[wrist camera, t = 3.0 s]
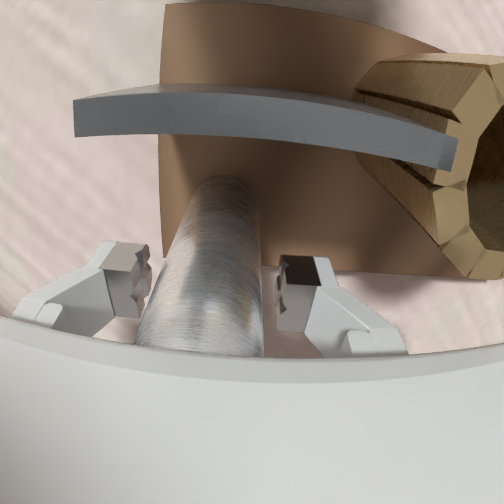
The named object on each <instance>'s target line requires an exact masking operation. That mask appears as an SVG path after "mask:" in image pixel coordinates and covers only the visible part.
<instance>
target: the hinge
mask: <svg viewBox="0 0 504 504" xmlns="http://www.w3.org/2000/svg"><path fill="white" fill-rule="evenodd" d="M378 62H379V63H374V65H373V66H372V67H371V68H370V69H369V71H368V72H367V73H366V74H365V75H364V77H363V78H362V79H361V80H360V81H359V83H358V84H357V85H356V86H355V87H354V88H355V89H356V90H357V91H358V92H359V93H360V94H358V93H354V92H352V97H351V100H348V99H343V98H338V97H333V96H327V95H321V94H315V93H309V92H302V91H295V90H287V89H279V88H269V87H259V86H246V85H231V84H204V83H171V84H157V85H150V86H143V87H136V88H130V89H124V90H118V91H113V92H108V93H103V94H98V95H93V96H89V97H85V98H80V99H76V100H73V110H74V132H75V137H87V136H104V135H128V134H190V135H215V136H233V137H247V138H259V139H269V140H279V141H288V142H297V143H305V144H312V145H320V146H326V147H333V148H339V149H346V150H351V151H355V154H356V156H357V159H358V162H359V163H360V164H361V166H362V167H363V168H364V169H365V170H366V171H367V172H368V173H369V174H370V175H371V176H372V177H373V178H374V179H375V180H376V181H377V182H378V183H379V184H380V185H381V186H383V187H384V188H385V189H386V191H387V192H388V193H389V194H390V195H391V196H392V197H393V198H394V199H395V200H396V201H397V202H398V203H399V204H400V205H401V206H402V207H403V208H404V209H405V210H406V211H407V212H408V213H409V214H410V216H411V217H412V218H413V219H414V220H415V221H416V222H417V223H418V224H419V225H420V227H421V228H422V229H423V230H424V231H425V232H426V233H427V234H428V236H429V237H430V238H431V239H432V240H433V241H434V243H435V244H436V245H437V246H438V247H439V249H440V250H441V251H442V252H443V253H444V254H445V255H446V256H447V258H448V259H449V260H450V261H451V262H452V263H453V264H454V265H455V267H456V268H457V269H458V270H459V271H460V272H461V274H462V275H463V276H464V277H465V276H467V278H468V279H487V280H498V279H499V277H501V278H502V279H503V278H504V57H501V56H491V55H479V54H459V53H417V54H404V55H400V56H396V57H392V58H388V59H384V60H381V61H378Z"/></svg>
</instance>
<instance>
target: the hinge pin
mask: <svg viewBox="0 0 504 504" xmlns="http://www.w3.org/2000/svg"><path fill="white" fill-rule="evenodd" d="M133 344H134V345H140V346H147V347H155V348H163V349H171V350H180V351H189V352H199V353H210V354H223V355H237V356H254V357H264V335H263V306H262V278H261V252H260V227H259V204H258V199H257V196H256V193H255V192H254V190H253V189H252V187H251V186H250V185H249V184H248V183H247V182H245V181H244V180H242V179H240V178H238V177H235V176H231V175H217V176H213V177H211V178H209V179H207V180H205V181H204V182H202V183H201V184H200V185H199V186H198V188H197V189H196V191H195V193H194V195H193V197H192V199H191V201H190V203H189V206H188V208H187V210H186V212H185V215H184V217H183V219H182V221H181V224H180V226H179V228H178V231H177V233H176V235H175V238H174V240H173V242H172V245H171V247H170V249H169V252H168V254H167V257H166V259H165V261H164V264H163V266H162V269H161V271H160V274H159V276H158V279H157V281H156V284H155V286H154V289H153V292H152V294H151V297H150V299H149V302H148V305H147V307H146V310H145V313H144V316H143V318H142V321H141V324H140V327H139V329H138V332H137V335H136V338H135V341H134V343H133Z"/></svg>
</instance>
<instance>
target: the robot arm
mask: <svg viewBox="0 0 504 504" xmlns="http://www.w3.org/2000/svg"><path fill="white" fill-rule="evenodd" d="M149 257H150V253H149V247H148V245H147V244H139V243H128V242H118V241H103V242H102V244H101V245H100V246H99V248H98V249H97V251H96V252H95V253H94V255H93V256H92V257H91V259H90V260H89V262H88V263H87V264H86V266H85V267H79V268H77V269H76V270H74V271H72V272H70V273H68V274H66V275H64V276H62V277H60V278H58V279H56V280H54V281H52V282H50V283H49V284H47V285H45V286H43V287H41V288H39V289H37V290H35V291H34V292H32V293H30V294H28V295H26V296H25V297H24V298H23V299H22V301H21V302H20V304H19V305H18V306H17V308H16V309H15V311H14V312H13V313H12V315H11V316H10V318H7V317H3V316H0V504H504V343H499V344H493V345H487V346H481V347H474V348H467V349H459V350H451V351H443V352H433V353H423V354H411V355H409V354H408V351H407V349H406V347H405V344H404V342H403V340H402V337H401V335H400V333H399V330H398V329H397V328H396V327H395V326H394V325H392V324H391V323H390V322H388V321H387V320H386V319H384V318H383V317H382V316H381V315H379V314H378V313H377V312H375V311H374V310H373V309H371V308H370V307H369V306H367V305H366V304H365V303H363V302H362V301H361V300H359V299H358V298H357V297H356V296H354V295H353V294H352V293H350V292H349V291H348V290H346V289H345V288H340V287H339V285H338V282H337V279H336V276H335V274H334V271H333V268H332V265H331V263H330V260H329V258H328V257H322V256H298V255H281V256H280V260H279V276H277V278H276V285H275V306H276V307H277V312H276V322H277V331H291V332H304V334H305V335H306V336H307V338H308V339H309V340H310V341H311V342H312V344H313V345H314V346H315V347H316V348H317V350H318V351H319V352H320V353H321V354H322V356H323V357H324V358H277V357H254V356H237V355H223V354H210V353H199V352H189V351H180V350H171V349H163V348H155V347H147V346H140V345H134V344H127V343H121V342H115V341H109V340H103V339H98V338H92V336H93V335H94V334H96V333H97V332H98V331H99V330H100V329H102V328H103V327H104V326H105V325H106V324H108V323H109V322H110V321H111V320H112V319H114V318H115V316H119V317H128V318H137V319H139V318H140V316H141V313H142V310H143V308H144V305H145V303H144V298H145V297H147V296H148V295H149V292H150V290H151V284H152V269H151V267H150V265H149V264H148V263H147V261H148V259H149Z"/></svg>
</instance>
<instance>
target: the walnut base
mask: <svg viewBox="0 0 504 504" xmlns="http://www.w3.org/2000/svg"><path fill="white" fill-rule="evenodd" d="M417 53H447V52H445V51H443V50H440V49H438V48H436V47H433V46H431V45H428V44H426V43H423V42H421V41H418V40H416V39H413V38H410V37H408V36H405V35H402V34H399V33H396V32H393V31H390V30H387V29H384V28H381V27H377V26H374V25H370V24H367V23H363V22H359V21H356V20H352V19H347V18H343V17H339V16H334V15H330V14H325V13H320V12H314V11H308V10H302V9H296V8H288V7H281V6H272V5H261V4H247V3H223V2H200V3H176V4H166V5H165V14H164V24H163V36H162V48H161V63H160V83H159V84H171V83H204V84H231V85H246V86H259V87H269V88H279V89H287V90H295V91H302V92H309V93H315V94H321V95H327V96H333V97H338V98H343V99H348V100H351V97H352V92H354V93H358V94H360V93H359V92H358V91H357V90H356V89H355V88H354V87H355V86H356V85H357V84H358V83H359V81H360V80H361V79H362V78H363V77H364V75H365V74H366V73H367V72H368V71H369V69H370V68H371V67H372V66H373V65H374V63H379V62H378V61H381V60H384V59H388V58H392V57H396V56H400V55H404V54H417ZM158 158H159V194H160V215H161V232H162V246H163V258H166V257H167V254H168V252H169V249H170V247H171V245H172V242H173V240H174V238H175V235H176V233H177V231H178V228H179V226H180V224H181V221H182V219H183V217H184V215H185V212H186V210H187V208H188V206H189V203H190V201H191V199H192V197H193V195H194V193H195V191H196V189H197V188H198V186H199V185H200V184H201V183H202V182H204V181H205V180H207V179H209V178H211V177H213V176H217V175H231V176H235V177H238V178H240V179H242V180H244V181H245V182H247V183H248V184H249V185H250V186H251V187H252V189H253V190H254V192H255V193H256V196H257V199H258V204H259V227H260V252H261V265H267V266H279V260H280V256H281V255H298V256H322V257H328V258H329V260H330V263H331V265H332V268H333V270H341V271H357V272H373V273H390V274H408V275H426V276H444V277H464V276H463V275H462V274H461V272H460V271H459V270H458V269H457V268H456V267H455V265H454V264H453V263H452V262H451V261H450V260H449V259H448V258H447V256H446V255H445V254H444V253H443V252H442V251H441V250H440V249H439V247H438V246H437V245H436V244H435V243H434V241H433V240H432V239H431V238H430V237H429V236H428V234H427V233H426V232H425V231H424V230H423V229H422V228H421V227H420V225H419V224H418V223H417V222H416V221H415V220H414V219H413V218H412V217H411V216H410V214H409V213H408V212H407V211H406V210H405V209H404V208H403V207H402V206H401V205H400V204H399V203H398V202H397V201H396V200H395V199H394V198H393V197H392V196H391V195H390V194H389V193H388V192H387V191H386V189H385V188H384V187H383V186H381V185H380V184H379V183H378V182H377V181H376V180H375V179H374V178H373V177H372V176H371V175H370V174H369V173H368V172H367V171H366V170H365V169H364V168H363V167H362V166H361V164H360V163H359V162H358V159H357V156H356V154H355V151H351V150H346V149H339V148H333V147H326V146H320V145H312V144H305V143H297V142H288V141H279V140H269V139H259V138H247V137H233V136H215V135H190V134H158ZM464 278H467V276H465V277H464ZM499 279H501V277H499Z"/></svg>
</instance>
